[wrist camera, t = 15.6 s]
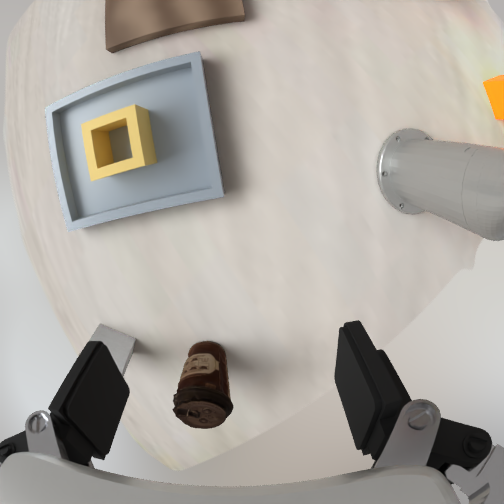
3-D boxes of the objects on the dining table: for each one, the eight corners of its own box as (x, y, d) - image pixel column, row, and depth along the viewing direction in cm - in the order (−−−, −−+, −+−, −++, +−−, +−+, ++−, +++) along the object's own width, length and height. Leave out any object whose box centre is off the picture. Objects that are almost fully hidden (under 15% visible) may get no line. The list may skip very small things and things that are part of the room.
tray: (202, 58, 28) (199, 51, 25) (224, 192, 34) (223, 196, 32) (56, 109, 28) (44, 107, 25) (78, 225, 34) (68, 231, 31)
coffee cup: (170, 348, 43) (155, 408, 31) (208, 325, 41) (201, 388, 29) (204, 377, 46) (200, 437, 33) (242, 358, 44) (245, 420, 32)
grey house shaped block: (100, 323, 40) (76, 361, 31) (135, 338, 42) (118, 380, 32) (98, 338, 42) (77, 376, 32) (132, 352, 43) (116, 393, 34)
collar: (148, 109, 29) (134, 104, 24) (157, 162, 31) (145, 165, 27) (99, 125, 29) (80, 124, 24) (108, 176, 31) (90, 181, 27)
